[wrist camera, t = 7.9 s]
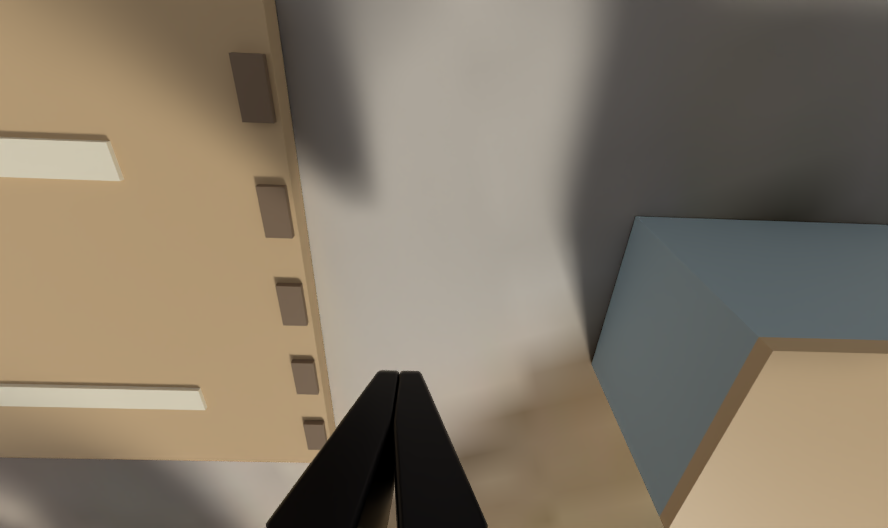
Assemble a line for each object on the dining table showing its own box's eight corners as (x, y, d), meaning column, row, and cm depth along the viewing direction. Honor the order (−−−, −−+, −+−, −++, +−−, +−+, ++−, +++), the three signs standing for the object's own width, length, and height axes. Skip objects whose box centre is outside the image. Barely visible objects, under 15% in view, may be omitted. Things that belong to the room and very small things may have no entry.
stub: (918, 225, 10) (1242, 362, 6) (819, 369, 12) (1004, 536, 8) (635, 216, 10) (773, 350, 6) (591, 364, 12) (666, 532, 8)
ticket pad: (274, -3, 8) (258, -6, 7) (337, 446, 14) (333, 467, 13) (-412, -36, 7) (-498, -42, 7) (-21, 440, 14) (-44, 461, 13)
